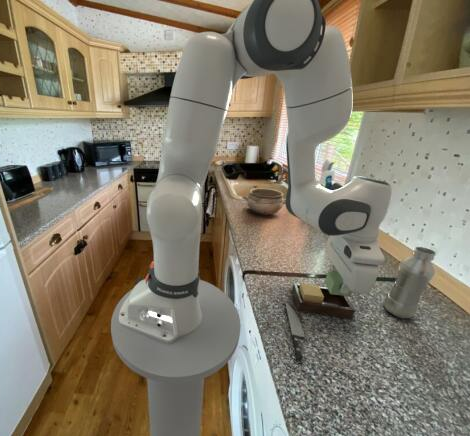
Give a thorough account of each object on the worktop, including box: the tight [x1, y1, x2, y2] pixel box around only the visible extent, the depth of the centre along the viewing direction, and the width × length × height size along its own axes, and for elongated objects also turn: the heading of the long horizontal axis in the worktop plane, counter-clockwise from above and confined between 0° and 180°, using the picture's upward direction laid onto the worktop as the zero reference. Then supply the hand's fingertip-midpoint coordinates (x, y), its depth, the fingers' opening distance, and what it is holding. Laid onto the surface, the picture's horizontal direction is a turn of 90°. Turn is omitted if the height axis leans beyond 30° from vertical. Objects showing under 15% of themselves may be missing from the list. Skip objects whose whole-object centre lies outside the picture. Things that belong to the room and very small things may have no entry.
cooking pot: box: [241, 187, 286, 216], centre depth 134 cm, size 25×19×12 cm
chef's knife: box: [284, 301, 306, 361], centre depth 62 cm, size 19×1×3 cm
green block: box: [324, 270, 353, 298], centre depth 67 cm, size 5×5×4 cm
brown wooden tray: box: [291, 282, 356, 320], centre depth 70 cm, size 14×9×3 cm, turn 78°
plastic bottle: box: [383, 246, 437, 319], centre depth 64 cm, size 6×7×20 cm
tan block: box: [299, 282, 324, 304], centre depth 70 cm, size 5×5×4 cm
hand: (338, 284), depth 67 cm, fingers closed on green block, 5 cm apart
